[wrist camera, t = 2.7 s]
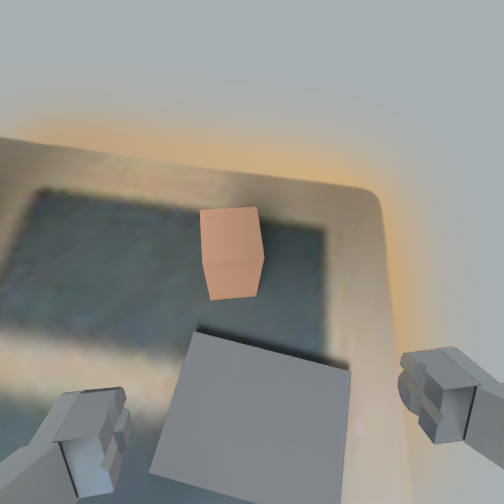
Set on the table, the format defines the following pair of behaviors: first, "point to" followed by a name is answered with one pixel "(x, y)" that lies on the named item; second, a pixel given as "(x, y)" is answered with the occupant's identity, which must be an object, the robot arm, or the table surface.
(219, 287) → the block
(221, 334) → the table surface
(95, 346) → the table surface
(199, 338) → the mat
